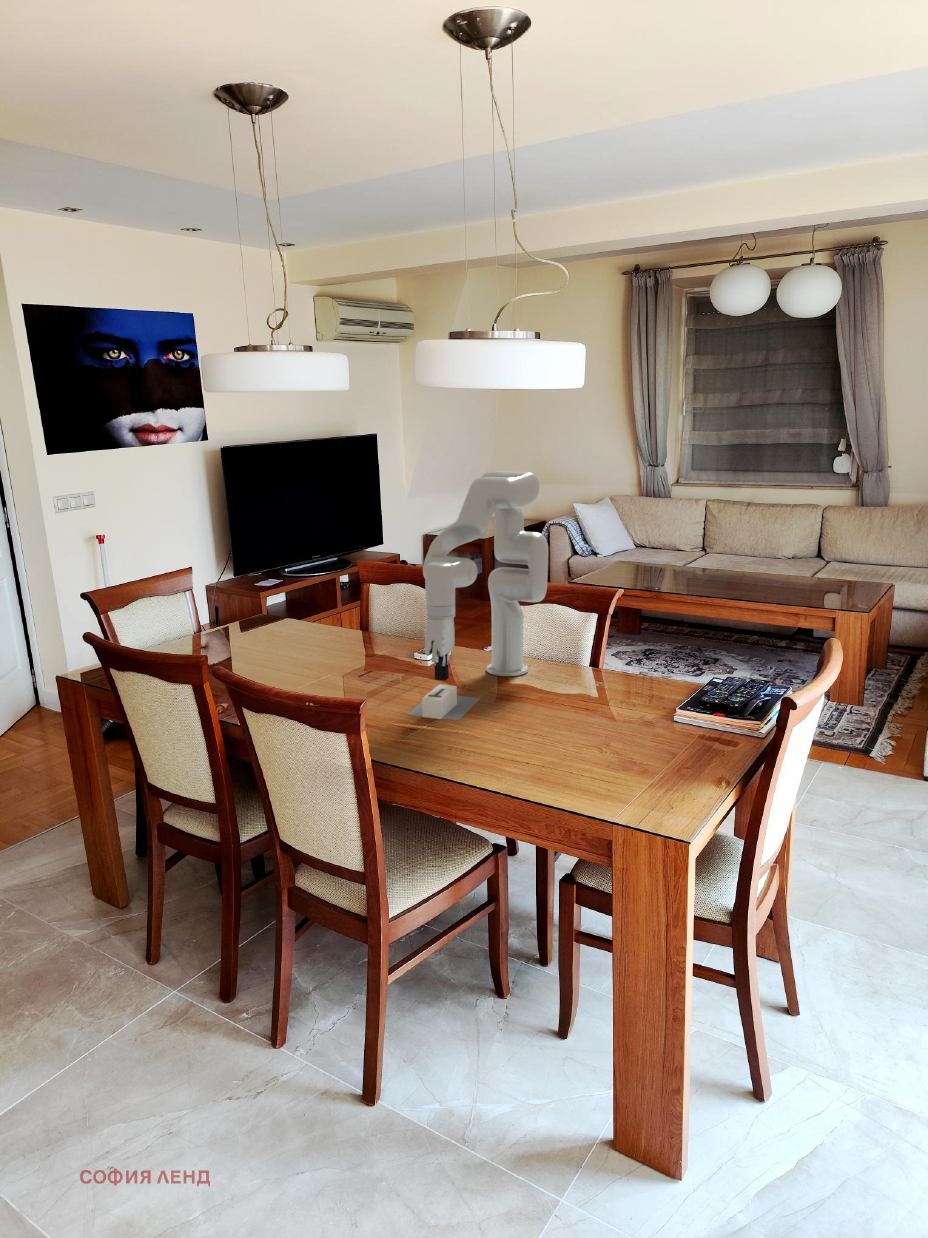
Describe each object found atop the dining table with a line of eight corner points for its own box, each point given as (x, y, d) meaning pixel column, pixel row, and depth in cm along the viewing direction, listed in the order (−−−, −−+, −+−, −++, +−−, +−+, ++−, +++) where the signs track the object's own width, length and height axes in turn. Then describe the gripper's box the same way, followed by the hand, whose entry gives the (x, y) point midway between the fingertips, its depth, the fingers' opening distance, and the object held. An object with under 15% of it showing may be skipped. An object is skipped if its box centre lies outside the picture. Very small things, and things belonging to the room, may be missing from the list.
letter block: (439, 683, 225) (422, 697, 214) (456, 685, 224) (440, 699, 213) (439, 702, 226) (422, 717, 215) (456, 704, 225) (440, 719, 214)
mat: (432, 695, 234) (432, 693, 234) (480, 700, 230) (480, 698, 229) (407, 716, 218) (407, 714, 217) (458, 722, 213) (458, 720, 213)
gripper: (437, 603, 224) (438, 670, 228) (415, 615, 210) (417, 686, 214) (464, 605, 221) (464, 672, 225) (444, 618, 207) (445, 689, 212)
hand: (441, 679), depth 220 cm, fingers closed
